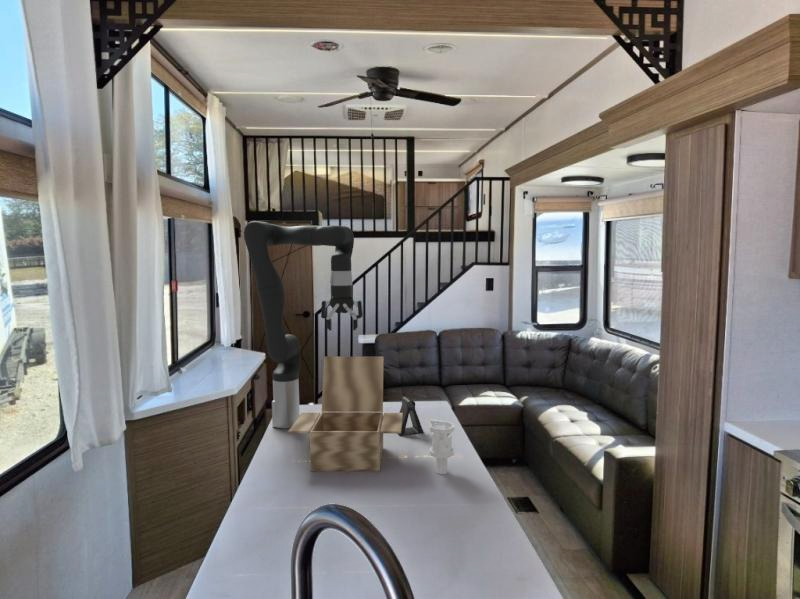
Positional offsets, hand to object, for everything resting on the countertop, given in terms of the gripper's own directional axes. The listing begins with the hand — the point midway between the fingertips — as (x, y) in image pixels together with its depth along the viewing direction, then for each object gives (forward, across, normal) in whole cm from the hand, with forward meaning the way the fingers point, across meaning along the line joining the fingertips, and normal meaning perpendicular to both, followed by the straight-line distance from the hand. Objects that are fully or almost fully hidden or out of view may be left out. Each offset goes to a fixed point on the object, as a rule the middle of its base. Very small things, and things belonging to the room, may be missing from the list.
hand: (342, 330), depth 179 cm
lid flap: (+16, -5, +13) cm, 21 cm away
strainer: (+36, -33, +34) cm, 60 cm away
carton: (+36, -5, +25) cm, 44 cm away
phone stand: (+36, -23, +1) cm, 43 cm away
